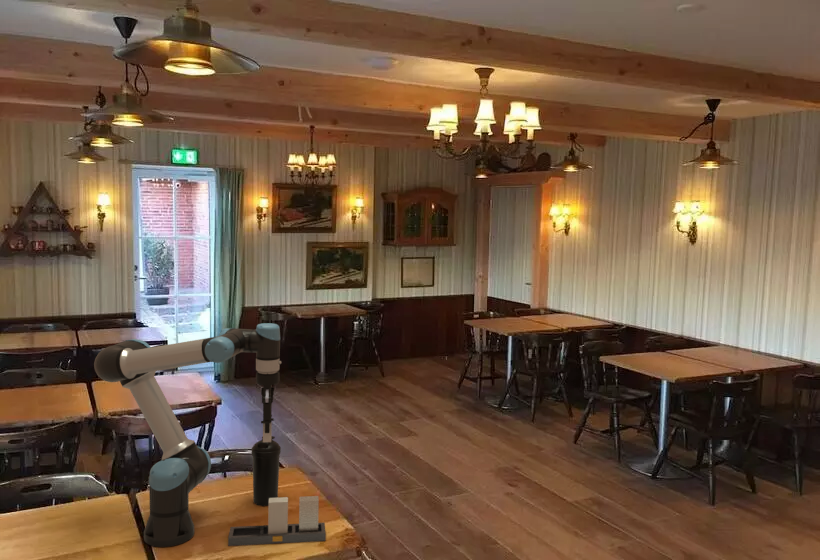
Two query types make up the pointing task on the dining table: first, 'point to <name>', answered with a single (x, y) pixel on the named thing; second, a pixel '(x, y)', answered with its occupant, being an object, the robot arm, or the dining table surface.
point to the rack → (296, 532)
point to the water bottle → (265, 471)
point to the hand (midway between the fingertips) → (267, 441)
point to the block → (278, 515)
